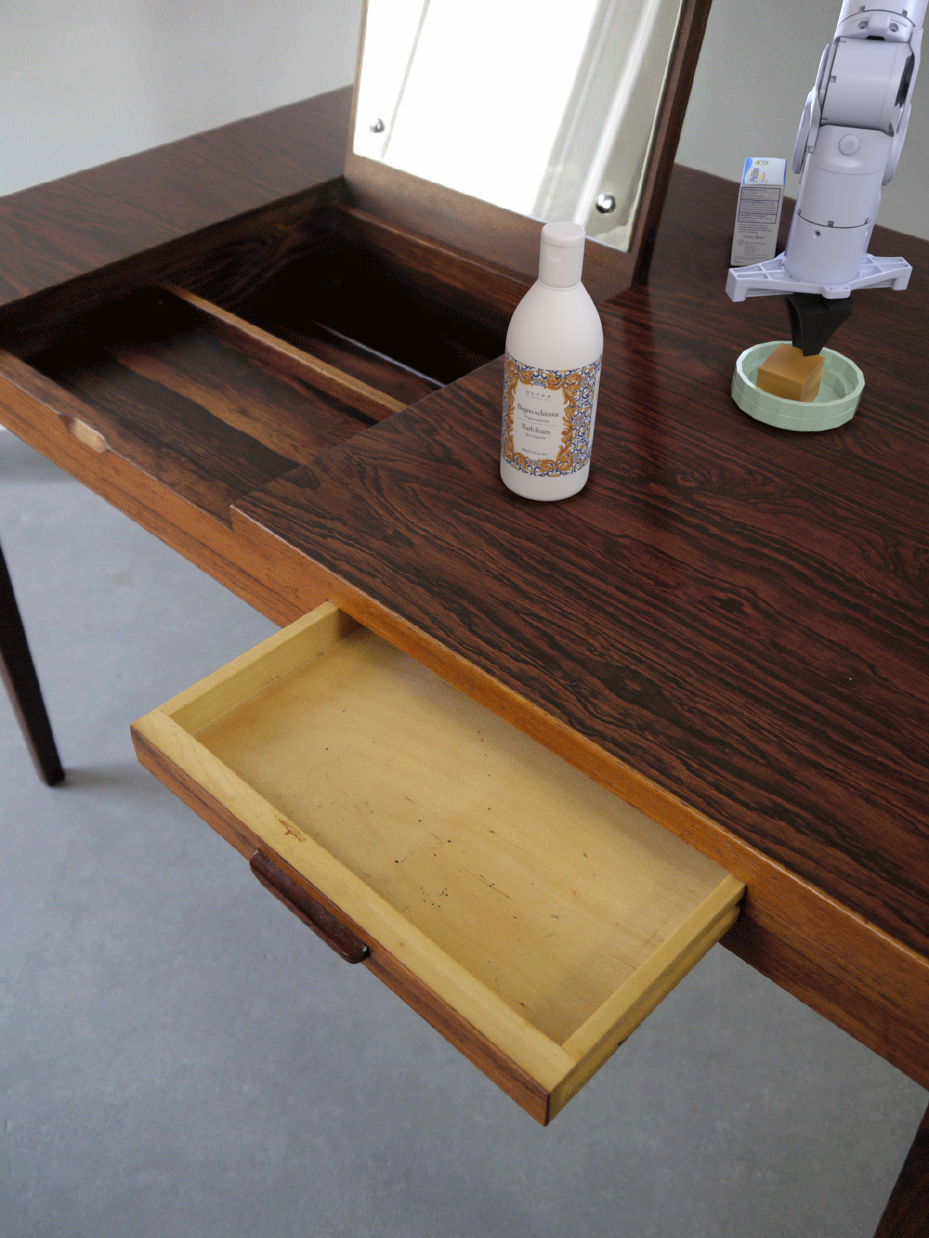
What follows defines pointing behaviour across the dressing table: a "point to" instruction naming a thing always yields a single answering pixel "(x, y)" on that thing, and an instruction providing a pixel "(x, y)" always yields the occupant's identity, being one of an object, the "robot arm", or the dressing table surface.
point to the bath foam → (552, 375)
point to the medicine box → (758, 211)
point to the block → (791, 374)
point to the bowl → (823, 413)
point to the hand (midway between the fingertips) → (796, 370)
